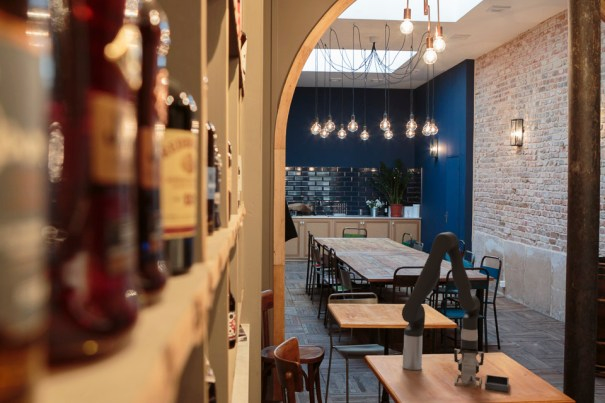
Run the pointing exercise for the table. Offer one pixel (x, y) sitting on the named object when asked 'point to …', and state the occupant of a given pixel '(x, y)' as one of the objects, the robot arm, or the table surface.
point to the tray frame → (468, 384)
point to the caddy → (497, 383)
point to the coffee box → (468, 367)
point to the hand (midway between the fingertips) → (468, 372)
